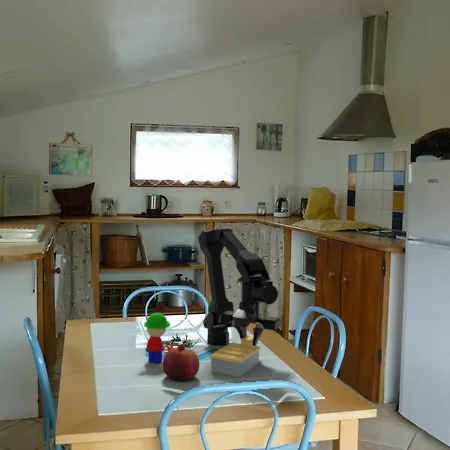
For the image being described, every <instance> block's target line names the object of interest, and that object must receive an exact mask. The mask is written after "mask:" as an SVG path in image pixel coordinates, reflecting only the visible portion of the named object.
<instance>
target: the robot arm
mask: <svg viewBox="0 0 450 450" xmlns="http://www.w3.org/2000/svg"><path fill="white" fill-rule="evenodd" d="M197 240H198V244H199V248H200V251H201V252H202V254H203V255H204V256H205V258H206V266H207V273H208V281H209V287H210V296H211V300H210V303H209V305H208V307H207V312H208V314H207V315H206V316H205V318H204V319H203V321H202V322H203V328H205V329H207V341H206V342H207V343H206V345H207V344H208V345H211V346H221V347H225V346H226V345H228V344H229V343H230V332H229V328H234V329H235V330H236V331H237V333H238V336H239V339H240V340H241V339H242V338H244V337H245V336H247V335H248V334H247V332H248V327H249V326H250V324H254V325H255V327H253V328H252V331H253V335H254V336H253V346H258V342H259V340H260V339H261V336H262V333H263V332H264V331H265V330H268V331H269V330H270V331H276V330H277V329H279V328H280V327H282V320H281V317H275V316H267V317H265V318H262V317H261V315H262V313H260V305H261V304H265V305H273V304H275V302H276V301H277V299H278V297H279V292H278V288H277V287H276V286H274V285H273V284H274V281H273V280H271V278H270V274H269V272H268V270H267V268H266V265H265V263H264V261H263V259H262V258H261V257H260V256H259V255H257V254H256V253H254V252H251V251H249V250H248V249H247V248H246V247H245V245H244V244H243V243H242V242H241V241H240V240H239V238H238V237H237V236H236V235H235V234H234V232H233V230H232V228H230V227H218V228H216V229H214V230H202V231H201V232H200V234H199V235H198V238H197ZM224 249H226V251H228V253H229V254H230V256H231V257H233V259H234V261H235V263H236V264H235V268H236V269H237V271H238V272H239V275H240V276H241V277H239V278H238V280H237V281H238V282H239V283H241V291H240V292H241V298H240V301H239V304H238V309H236V310H235V309H234V302H233V301H230V300H229V299H228V297H227V294H226V292H227V291H226V286H225V278H224V277H225V276H224V271H223V263H222V255H221V254H222V253H223V250H224ZM234 310H235V311H234ZM260 317H261V318H260Z"/></svg>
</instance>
